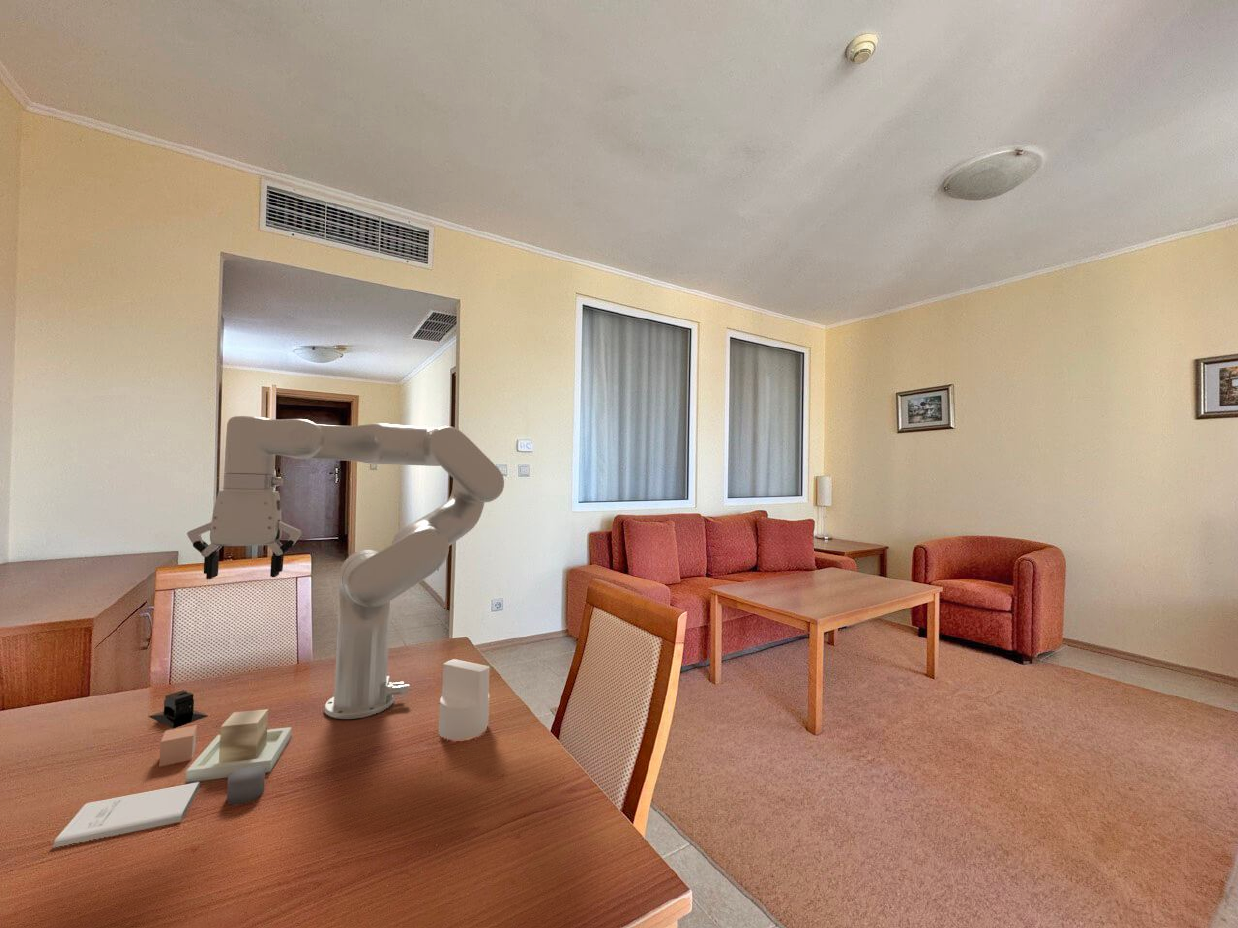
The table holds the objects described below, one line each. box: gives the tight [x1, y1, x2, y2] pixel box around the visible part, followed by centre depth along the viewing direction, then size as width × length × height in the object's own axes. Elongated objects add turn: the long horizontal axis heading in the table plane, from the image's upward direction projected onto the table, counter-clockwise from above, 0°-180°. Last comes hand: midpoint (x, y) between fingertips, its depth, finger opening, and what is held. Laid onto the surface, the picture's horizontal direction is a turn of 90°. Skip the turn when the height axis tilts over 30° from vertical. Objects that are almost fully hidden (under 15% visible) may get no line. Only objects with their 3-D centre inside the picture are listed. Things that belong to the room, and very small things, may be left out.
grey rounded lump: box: [226, 766, 266, 805], centre depth 74 cm, size 4×4×3 cm
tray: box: [185, 726, 293, 784], centre depth 83 cm, size 11×11×2 cm
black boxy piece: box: [148, 690, 209, 730], centre depth 96 cm, size 12×7×5 cm, turn 65°
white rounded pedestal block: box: [438, 658, 491, 740], centre depth 95 cm, size 9×9×12 cm
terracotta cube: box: [158, 724, 198, 768], centre depth 83 cm, size 4×4×4 cm
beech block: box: [219, 708, 269, 763], centre depth 83 cm, size 5×5×6 cm
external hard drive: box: [53, 781, 201, 848], centre depth 69 cm, size 2×8×12 cm
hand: (244, 576), depth 92 cm, fingers open, 9 cm apart
